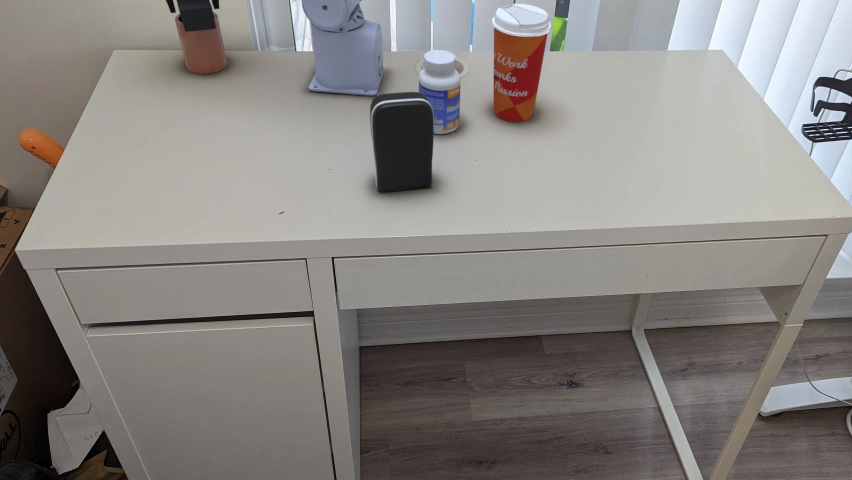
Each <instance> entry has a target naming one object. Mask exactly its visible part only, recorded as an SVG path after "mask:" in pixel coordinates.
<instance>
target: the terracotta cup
mask: <svg viewBox="0 0 852 480" xmlns="http://www.w3.org/2000/svg"><path fill="white" fill-rule="evenodd" d="M213 15H214V20H215V25H216V29H210V30H200V31H190V32H185V30H184V26H183V23H182V19H181V15H180V13H178V14H177V15H176V16H174V21H175V27H176V31H177V35H178V39H179V42H180V47H181V51H182V54H183V60H184V64H185V67H186V69H187V70H188V71H189V72H192V73H194V74H200V75H205V74H207V75H209V74H214V73H218V72H220V71H223V70H224V69H225V68H226V67H227V66H228V61H227V56H226V51H225V46H224V41H223V35H222V30H221V25H220V20H219V15H218V14H217V13H216V12H214V11H213Z"/></svg>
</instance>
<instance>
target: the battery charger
mask: <svg viewBox="0 0 852 480" xmlns="http://www.w3.org/2000/svg"><path fill="white" fill-rule="evenodd" d="M369 117H370V118H369V119H370V120H369V121H370V137H371V142H372V151H373V152H372V153H373V160H374V170H375V187H376V189H377V191H379V192H391V191H392V192H393V191H402V190H403V191H404V190H412V189H420V188H426V187H431V186H432V185H433V156H434V139H435V138H434V137H435V136H434V135H435V133H434V115H433V109H432V106H431V104H430V103H429V101H428V99H427V98H426V96H425V95H424V94H422V93H420V92H419V91H401V92H399V91H398V92H389V93H381V94H378V95H375V96H374V97H373V99H372V100H371V103H370V107H369Z"/></svg>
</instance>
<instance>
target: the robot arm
mask: <svg viewBox="0 0 852 480" xmlns="http://www.w3.org/2000/svg"><path fill="white" fill-rule="evenodd" d="M165 2H166V4H167V6H168V7H167V8H168V9H169V12H170V14H176V13H177V10H176V6H175V3H174V0H165ZM360 2H362V0H301V7H302V11H303V13H304V15H305V17H306V18H307V19H308V21H309V22H310V31H311V39H312V50H313V57H314V58H313V59H314V67H315V73H314V75H313V77H312V79H311V81H310V83H309V85H308V90H309V91H311V92H320V93H321V92H323V93H335V94H344V95H346V94H347V95H356V96H357V95H358V96H369V97H376V96H377V94H378V91H379V88H380V85H381V82H382V79H383V76H384V73H385V68H384V54H383V51H384V49H383V36H382V35H383V32H382V27H381V24H380V23H379V22H373V21H370V20H367V19H365V15H364V12H363V10H362V7H361V6H360ZM211 5H212V8H213V9H214V10H220V8H221V7H220V0H211Z"/></svg>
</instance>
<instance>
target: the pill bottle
mask: <svg viewBox="0 0 852 480" xmlns="http://www.w3.org/2000/svg"><path fill="white" fill-rule="evenodd" d="M456 62H457V61H456V55H455V54H454V53H453V52H451V51H449V50H443V49H433V50H429V51H426V53H424V55H423V69H421V71H420V72H419V74H418V92H420V93H422V94H424V95H425V96H426V98H427V99H428V101H429V103H430V104H431V106H432V109H433V115H434V135H435V134H436V135H444V134H450V133H452V132H454V131H456V130H457V129H458V128H459V125H460V112H461V110H460V109H461V75H460V73H459V72H458V71H457V69H456V65H457V63H456Z"/></svg>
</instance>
